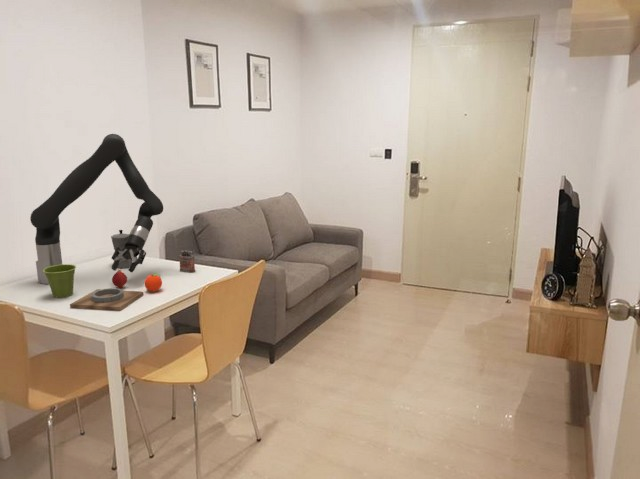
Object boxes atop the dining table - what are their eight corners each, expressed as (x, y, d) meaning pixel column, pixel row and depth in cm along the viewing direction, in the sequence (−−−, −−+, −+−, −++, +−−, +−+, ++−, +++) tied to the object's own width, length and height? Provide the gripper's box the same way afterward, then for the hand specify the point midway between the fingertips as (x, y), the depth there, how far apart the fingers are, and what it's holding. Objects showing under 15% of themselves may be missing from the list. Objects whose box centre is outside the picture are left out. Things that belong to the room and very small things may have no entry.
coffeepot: (107, 265, 245) (104, 229, 241) (125, 261, 253) (122, 226, 249) (124, 271, 236) (121, 233, 232) (142, 267, 243) (139, 230, 239)
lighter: (178, 271, 237) (176, 250, 235) (182, 269, 240) (181, 249, 238) (192, 273, 234) (191, 252, 232) (196, 271, 237) (195, 250, 235)
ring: (85, 301, 191) (85, 296, 191) (102, 292, 202) (102, 287, 202) (113, 303, 190) (113, 298, 189) (129, 293, 201) (128, 288, 200)
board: (70, 308, 189) (69, 304, 189) (97, 292, 206) (97, 289, 206) (120, 311, 186) (119, 307, 186) (143, 295, 204) (143, 291, 203)
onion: (118, 291, 208) (117, 272, 207) (109, 288, 211) (108, 270, 210) (130, 287, 213) (129, 269, 211) (121, 285, 216) (120, 267, 214)
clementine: (160, 286, 214) (159, 270, 213) (168, 290, 209) (166, 274, 208) (142, 290, 209) (140, 274, 207) (149, 295, 204) (148, 278, 202)
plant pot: (41, 295, 203) (37, 268, 200) (71, 288, 211) (68, 262, 209) (53, 302, 195) (50, 274, 193) (84, 294, 204) (81, 267, 201)
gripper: (119, 232, 220) (102, 264, 212) (146, 234, 215) (131, 267, 207) (128, 241, 226) (112, 273, 218) (155, 244, 221) (140, 276, 213)
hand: (121, 270), depth 212 cm, fingers open, 8 cm apart
